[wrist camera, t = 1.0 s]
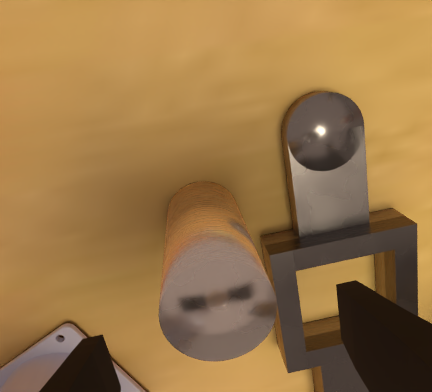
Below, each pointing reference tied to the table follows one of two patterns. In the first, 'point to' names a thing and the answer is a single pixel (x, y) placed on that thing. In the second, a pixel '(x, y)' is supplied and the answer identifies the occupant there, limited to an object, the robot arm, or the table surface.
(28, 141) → the table surface
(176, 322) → the steel pin
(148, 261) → the table surface
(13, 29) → the table surface
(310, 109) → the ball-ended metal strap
